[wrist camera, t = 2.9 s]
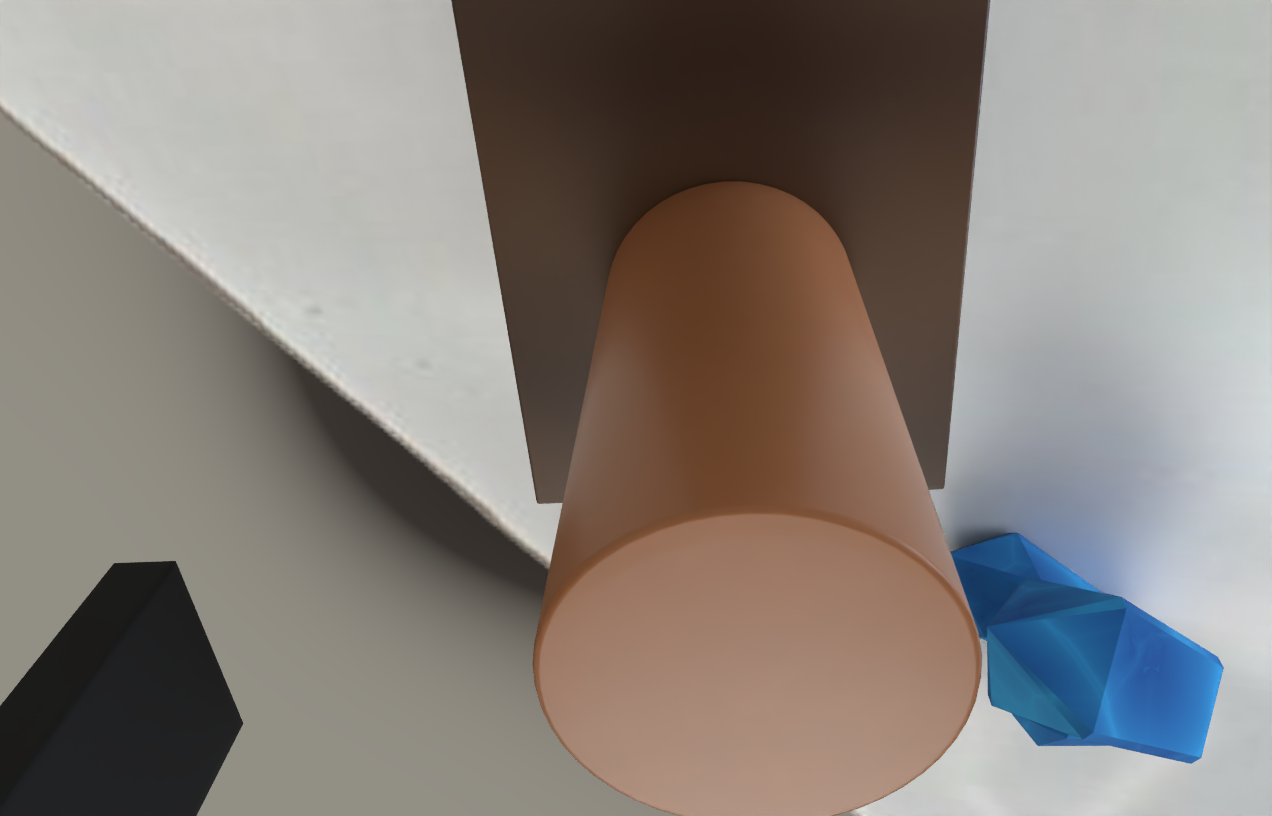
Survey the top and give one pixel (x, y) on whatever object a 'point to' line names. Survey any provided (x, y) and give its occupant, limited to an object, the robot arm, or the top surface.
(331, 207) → the top surface
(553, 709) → the copper tin
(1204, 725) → the crystal
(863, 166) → the desk shelf
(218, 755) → the robot arm
